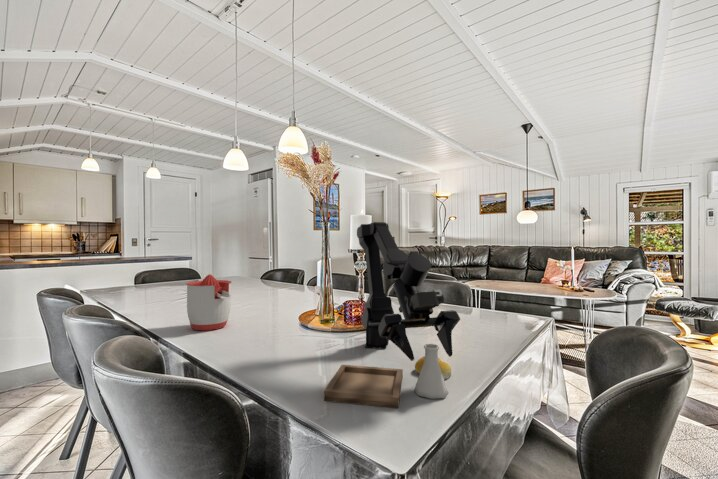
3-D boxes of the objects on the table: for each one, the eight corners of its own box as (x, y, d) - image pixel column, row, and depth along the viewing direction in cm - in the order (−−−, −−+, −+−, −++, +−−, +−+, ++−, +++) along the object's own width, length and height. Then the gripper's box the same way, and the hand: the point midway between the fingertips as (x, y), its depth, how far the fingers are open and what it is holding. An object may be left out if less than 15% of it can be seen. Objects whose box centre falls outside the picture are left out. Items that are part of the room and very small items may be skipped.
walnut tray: (324, 400, 68) (324, 390, 68) (341, 372, 83) (341, 364, 83) (398, 408, 65) (398, 397, 65) (402, 377, 80) (402, 369, 80)
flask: (449, 401, 68) (449, 352, 68) (413, 398, 70) (413, 350, 70) (447, 386, 75) (447, 342, 75) (414, 383, 77) (415, 340, 77)
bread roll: (429, 383, 77) (429, 366, 77) (410, 369, 86) (410, 354, 86) (459, 379, 80) (459, 362, 80) (438, 366, 88) (438, 350, 88)
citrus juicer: (206, 336, 114) (206, 277, 115) (176, 329, 123) (177, 274, 123) (243, 326, 128) (243, 273, 128) (214, 320, 137) (214, 271, 137)
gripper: (382, 278, 75) (403, 342, 64) (455, 276, 80) (486, 334, 69) (371, 307, 82) (388, 368, 71) (438, 303, 88) (463, 360, 77)
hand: (432, 357), depth 72 cm, fingers open, 9 cm apart
